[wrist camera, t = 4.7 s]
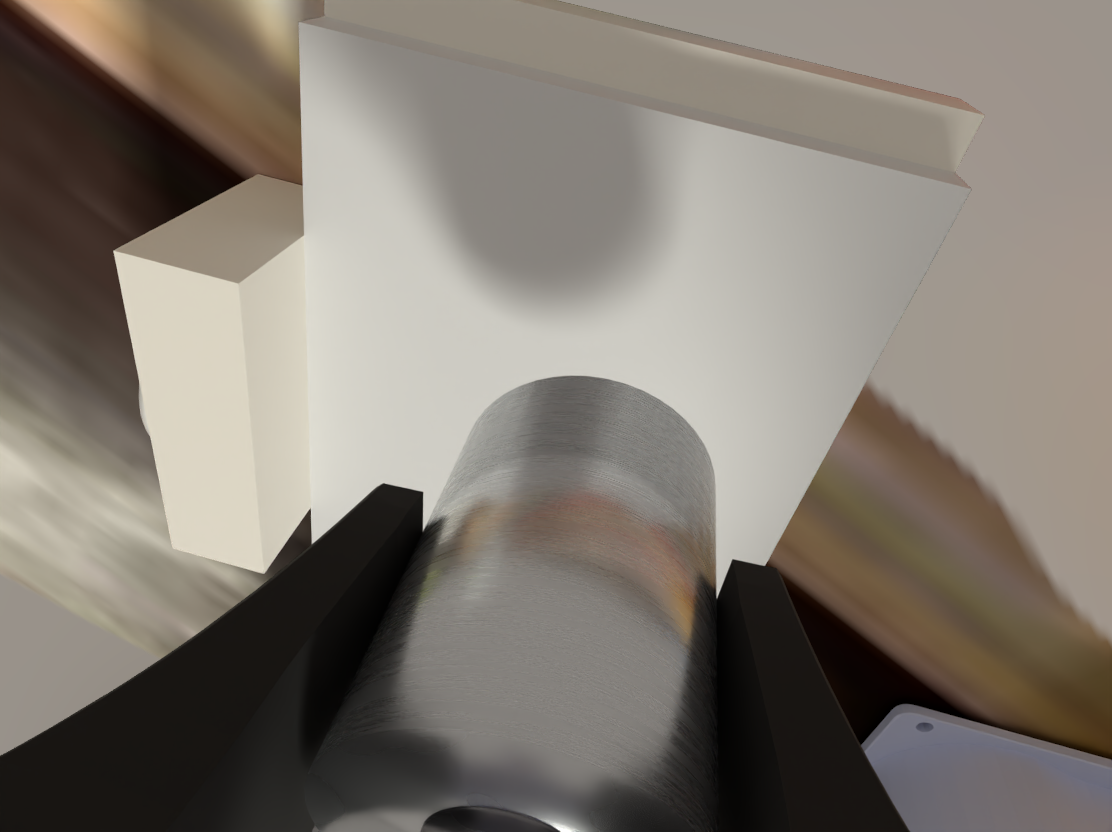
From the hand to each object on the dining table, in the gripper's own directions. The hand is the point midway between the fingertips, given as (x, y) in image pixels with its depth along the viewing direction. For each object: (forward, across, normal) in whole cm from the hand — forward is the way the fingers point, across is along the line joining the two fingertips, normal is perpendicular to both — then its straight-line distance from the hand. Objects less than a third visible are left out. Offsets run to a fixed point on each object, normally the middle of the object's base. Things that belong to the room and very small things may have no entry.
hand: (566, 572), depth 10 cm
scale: (+9, +3, +3) cm, 9 cm away
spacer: (+2, 0, 0) cm, 2 cm away
